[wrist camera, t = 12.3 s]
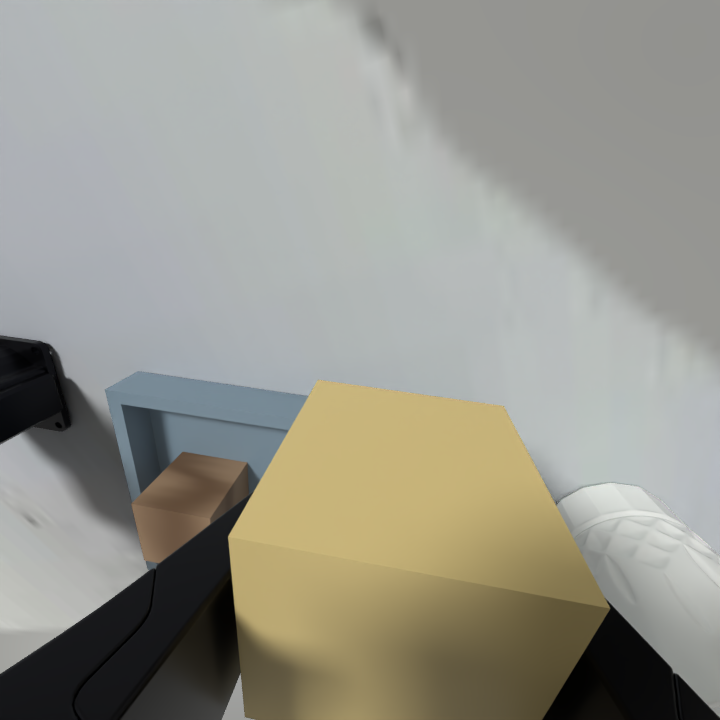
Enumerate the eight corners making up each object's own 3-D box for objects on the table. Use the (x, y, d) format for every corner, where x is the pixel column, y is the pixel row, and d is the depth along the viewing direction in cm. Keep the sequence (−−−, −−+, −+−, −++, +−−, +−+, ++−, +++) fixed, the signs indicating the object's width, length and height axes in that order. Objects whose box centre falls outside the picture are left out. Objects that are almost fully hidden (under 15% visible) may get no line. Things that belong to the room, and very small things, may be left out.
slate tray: (170, 539, 27) (147, 569, 24) (138, 371, 21) (104, 389, 19) (419, 587, 25) (420, 624, 23) (460, 418, 19) (467, 445, 17)
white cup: (664, 568, 21) (858, 829, 12) (533, 566, 23) (618, 798, 14) (689, 470, 19) (965, 713, 9) (537, 475, 20) (648, 689, 11)
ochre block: (312, 513, 10) (244, 717, 6) (317, 380, 8) (227, 537, 4) (463, 539, 10) (506, 778, 5) (503, 406, 8) (610, 609, 4)
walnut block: (189, 502, 24) (144, 560, 20) (182, 451, 22) (131, 503, 18) (249, 512, 23) (216, 574, 19) (247, 462, 22) (209, 518, 18)
